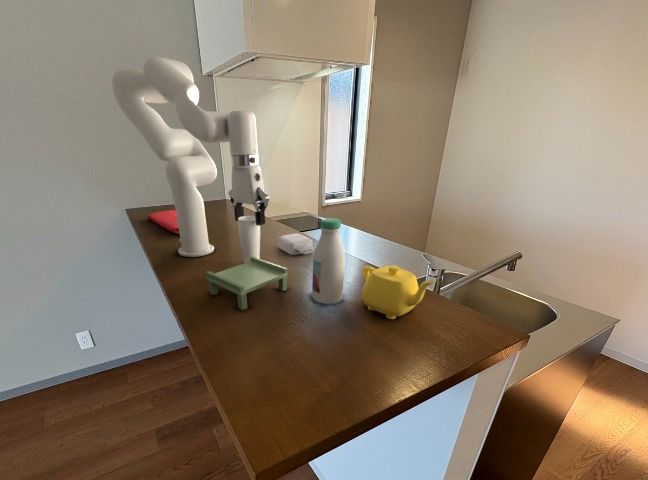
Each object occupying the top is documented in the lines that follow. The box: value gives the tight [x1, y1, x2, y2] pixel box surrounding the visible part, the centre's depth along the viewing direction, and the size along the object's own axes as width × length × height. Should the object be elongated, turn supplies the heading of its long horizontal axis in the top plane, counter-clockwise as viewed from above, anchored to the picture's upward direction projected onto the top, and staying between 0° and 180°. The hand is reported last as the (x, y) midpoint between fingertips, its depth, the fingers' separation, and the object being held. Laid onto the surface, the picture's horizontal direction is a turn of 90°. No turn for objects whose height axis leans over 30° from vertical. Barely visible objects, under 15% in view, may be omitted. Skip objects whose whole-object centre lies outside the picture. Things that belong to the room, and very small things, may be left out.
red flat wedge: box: [146, 209, 180, 235], centre depth 151 cm, size 16×41×4 cm, turn 36°
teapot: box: [361, 265, 436, 320], centre depth 73 cm, size 18×11×11 cm, turn 39°
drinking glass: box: [237, 215, 261, 264], centre depth 100 cm, size 7×7×15 cm
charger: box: [277, 232, 315, 256], centre depth 113 cm, size 5×9×15 cm
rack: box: [205, 257, 289, 311], centre depth 84 cm, size 14×16×6 cm
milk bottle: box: [311, 217, 346, 305], centre depth 77 cm, size 8×8×20 cm
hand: (250, 222), depth 97 cm, fingers open, 9 cm apart
